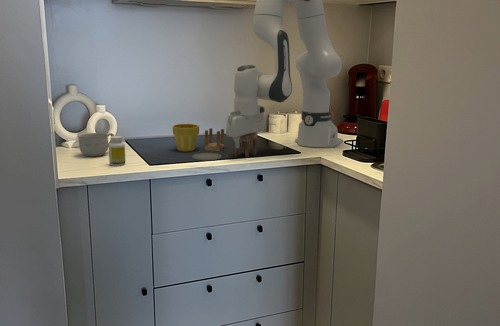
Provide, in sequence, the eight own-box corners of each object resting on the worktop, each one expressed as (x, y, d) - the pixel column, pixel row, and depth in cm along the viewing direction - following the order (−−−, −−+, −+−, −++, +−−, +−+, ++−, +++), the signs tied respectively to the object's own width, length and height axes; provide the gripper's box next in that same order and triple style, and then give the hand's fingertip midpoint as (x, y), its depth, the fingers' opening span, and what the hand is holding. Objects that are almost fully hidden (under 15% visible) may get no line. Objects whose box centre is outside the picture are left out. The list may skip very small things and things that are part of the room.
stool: (243, 152, 196) (243, 132, 194) (256, 154, 193) (256, 134, 191) (234, 155, 191) (234, 134, 189) (247, 157, 188) (247, 136, 186)
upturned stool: (210, 147, 205) (210, 128, 204) (224, 148, 204) (224, 129, 202) (205, 150, 200) (204, 130, 198) (219, 151, 198) (219, 131, 196)
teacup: (83, 159, 182) (82, 137, 180) (75, 153, 190) (74, 133, 188) (121, 155, 189) (120, 134, 187) (111, 150, 198) (110, 130, 196)
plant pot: (194, 153, 194) (194, 128, 192) (169, 151, 196) (168, 127, 194) (202, 147, 204) (202, 124, 202) (178, 146, 206) (177, 122, 204)
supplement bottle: (128, 164, 175) (127, 136, 173) (115, 167, 171) (113, 138, 169) (119, 161, 179) (118, 134, 176) (106, 164, 175) (104, 136, 172)
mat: (205, 152, 195) (205, 151, 195) (227, 156, 189) (227, 155, 189) (186, 157, 186) (186, 156, 186) (208, 162, 180) (208, 160, 180)
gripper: (235, 113, 178) (235, 151, 181) (267, 107, 194) (266, 142, 197) (221, 111, 181) (221, 149, 185) (254, 106, 198) (253, 140, 201)
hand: (245, 145), depth 191 cm, fingers open, 8 cm apart
